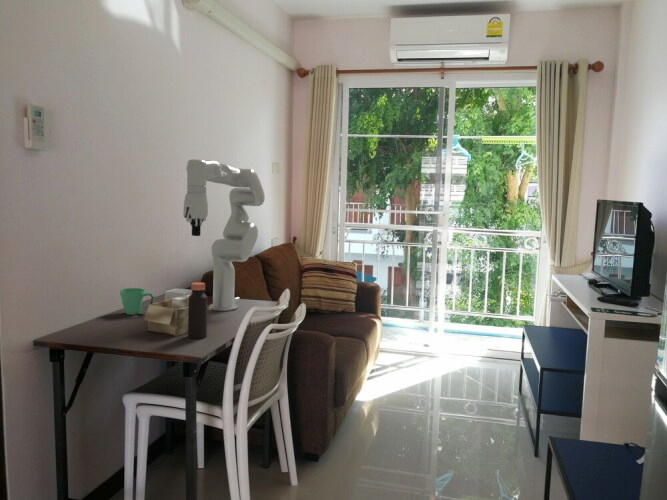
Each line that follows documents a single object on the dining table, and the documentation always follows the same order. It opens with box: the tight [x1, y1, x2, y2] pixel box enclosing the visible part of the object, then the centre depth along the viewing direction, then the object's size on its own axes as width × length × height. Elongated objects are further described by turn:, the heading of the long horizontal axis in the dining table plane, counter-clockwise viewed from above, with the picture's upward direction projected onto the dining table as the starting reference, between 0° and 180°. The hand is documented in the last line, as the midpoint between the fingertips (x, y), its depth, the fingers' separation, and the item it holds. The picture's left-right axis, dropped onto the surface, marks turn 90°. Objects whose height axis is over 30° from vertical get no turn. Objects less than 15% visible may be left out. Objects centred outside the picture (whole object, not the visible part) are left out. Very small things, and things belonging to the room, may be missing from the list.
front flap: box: [143, 303, 175, 325], centre depth 206 cm, size 6×12×1 cm
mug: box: [119, 287, 156, 316], centre depth 236 cm, size 15×10×10 cm
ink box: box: [164, 287, 192, 301], centre depth 232 cm, size 9×8×12 cm
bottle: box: [187, 281, 208, 340], centre depth 205 cm, size 7×7×20 cm
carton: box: [147, 294, 191, 337], centre depth 214 cm, size 16×15×13 cm
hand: (196, 235), depth 226 cm, fingers closed
